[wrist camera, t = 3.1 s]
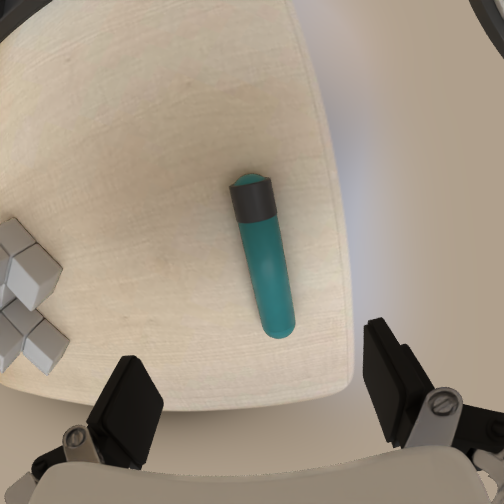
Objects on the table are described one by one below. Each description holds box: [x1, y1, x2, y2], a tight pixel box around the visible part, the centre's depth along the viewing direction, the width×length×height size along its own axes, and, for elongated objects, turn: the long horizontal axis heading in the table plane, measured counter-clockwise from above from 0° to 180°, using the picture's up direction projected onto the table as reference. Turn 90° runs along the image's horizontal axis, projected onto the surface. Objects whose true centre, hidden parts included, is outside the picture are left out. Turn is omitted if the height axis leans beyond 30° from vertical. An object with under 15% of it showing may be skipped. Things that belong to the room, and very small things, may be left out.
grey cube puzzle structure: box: [0, 218, 69, 376], centre depth 20 cm, size 12×12×8 cm
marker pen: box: [229, 174, 295, 339], centre depth 20 cm, size 13×3×3 cm, turn 12°
